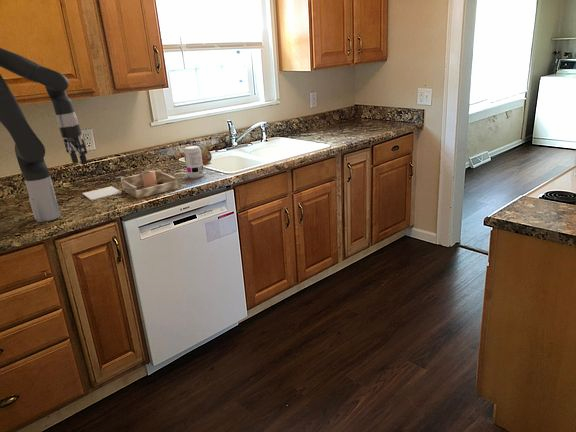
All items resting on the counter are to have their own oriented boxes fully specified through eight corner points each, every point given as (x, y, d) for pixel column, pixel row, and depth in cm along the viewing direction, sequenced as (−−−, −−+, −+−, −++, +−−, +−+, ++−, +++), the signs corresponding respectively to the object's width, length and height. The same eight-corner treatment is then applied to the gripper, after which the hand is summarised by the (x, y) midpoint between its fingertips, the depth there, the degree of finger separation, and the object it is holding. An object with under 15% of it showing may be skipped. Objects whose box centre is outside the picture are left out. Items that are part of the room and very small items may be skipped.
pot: (147, 192, 211) (144, 173, 207) (142, 190, 215) (139, 171, 212) (159, 189, 214) (156, 171, 211) (154, 187, 218) (151, 168, 215)
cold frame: (137, 198, 203) (135, 185, 201) (123, 190, 216) (120, 178, 214) (178, 188, 214) (176, 175, 212) (162, 180, 228) (160, 169, 225)
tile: (91, 200, 204) (91, 199, 204) (82, 194, 214) (82, 193, 214) (122, 193, 212) (121, 192, 212) (111, 187, 222) (111, 186, 222)
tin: (185, 166, 252) (183, 152, 249) (185, 165, 255) (183, 150, 252) (212, 163, 256) (210, 148, 253) (211, 162, 258) (210, 147, 255)
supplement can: (185, 178, 230) (180, 149, 224) (192, 173, 237) (188, 145, 232) (199, 178, 227) (195, 149, 222) (206, 173, 235) (203, 145, 229)
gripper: (52, 126, 185) (64, 164, 190) (67, 127, 175) (78, 167, 181) (70, 122, 190) (81, 160, 195) (85, 123, 180) (96, 162, 186)
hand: (80, 163), depth 188 cm, fingers open, 8 cm apart
